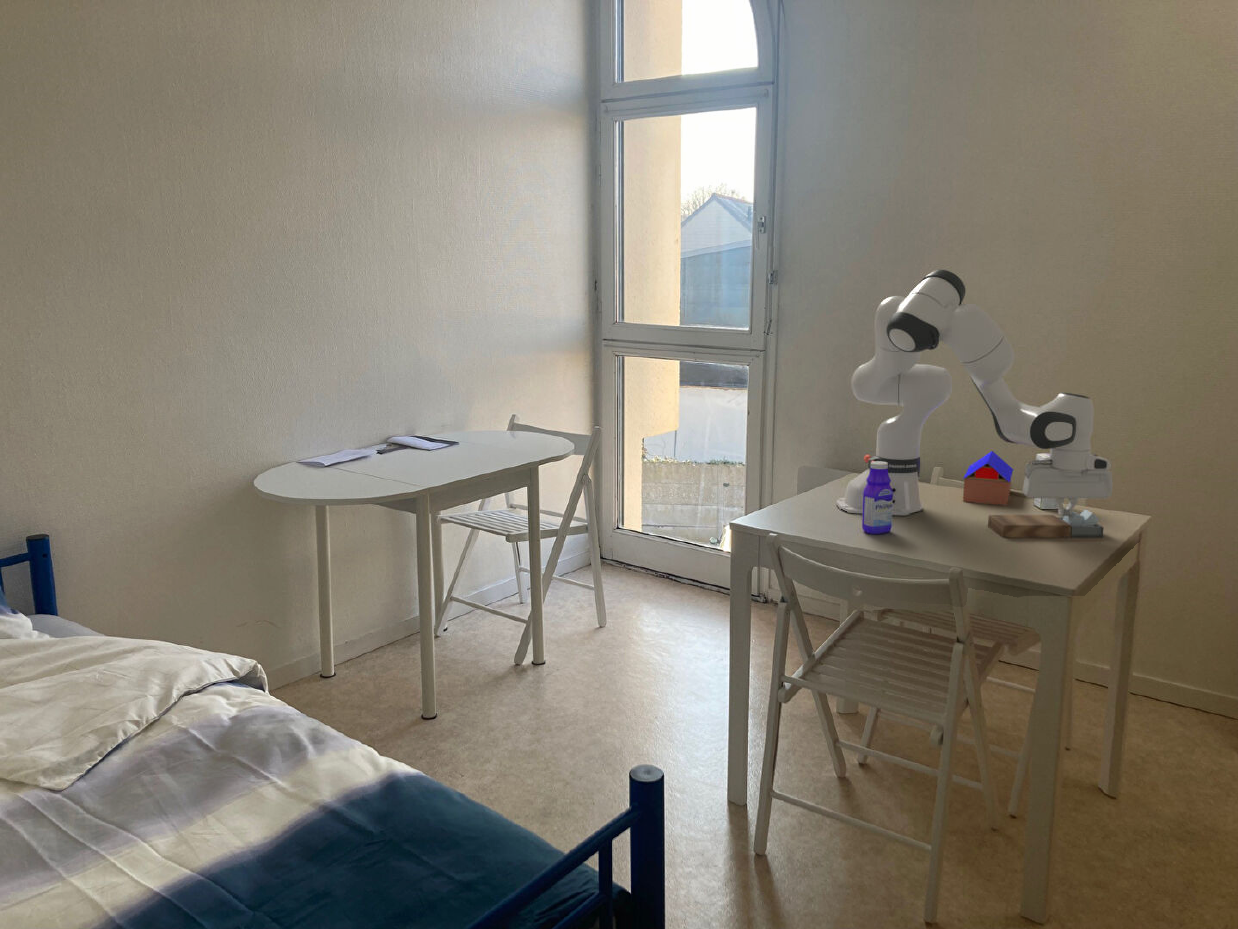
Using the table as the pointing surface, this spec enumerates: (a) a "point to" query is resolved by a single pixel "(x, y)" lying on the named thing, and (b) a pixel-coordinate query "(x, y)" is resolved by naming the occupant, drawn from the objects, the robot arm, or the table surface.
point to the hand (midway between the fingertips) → (1064, 515)
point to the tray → (1086, 530)
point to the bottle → (877, 500)
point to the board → (1029, 526)
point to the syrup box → (1044, 502)
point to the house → (988, 481)
